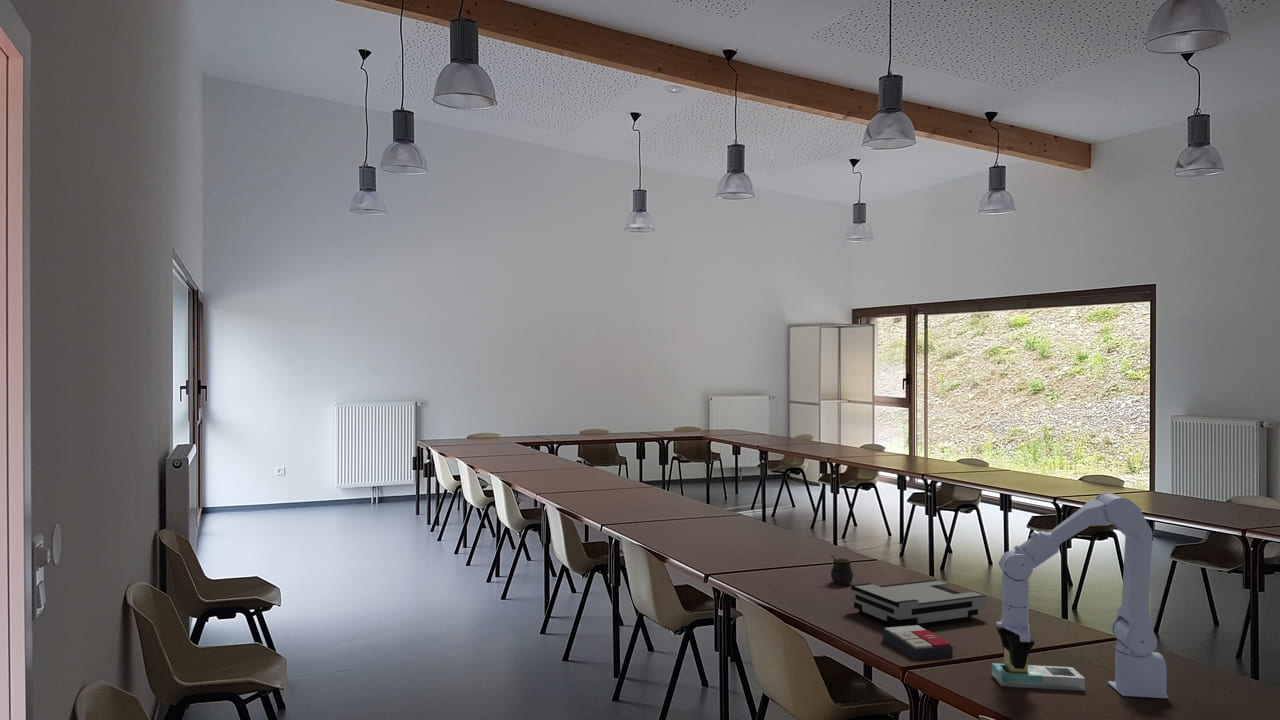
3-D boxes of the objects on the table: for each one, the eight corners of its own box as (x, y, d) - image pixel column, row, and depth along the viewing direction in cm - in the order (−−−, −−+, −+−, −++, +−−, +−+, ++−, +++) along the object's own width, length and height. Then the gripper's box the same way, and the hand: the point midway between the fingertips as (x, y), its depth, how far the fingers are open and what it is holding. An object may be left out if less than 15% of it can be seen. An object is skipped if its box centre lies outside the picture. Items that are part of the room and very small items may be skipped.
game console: (986, 620, 242) (986, 592, 242) (898, 633, 229) (899, 603, 229) (934, 602, 261) (934, 575, 261) (850, 612, 248) (851, 585, 248)
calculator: (915, 646, 207) (882, 625, 221) (914, 663, 207) (881, 641, 221) (953, 643, 210) (918, 622, 224) (953, 660, 210) (918, 638, 224)
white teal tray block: (1072, 679, 195) (1072, 667, 195) (1084, 690, 188) (1084, 678, 188) (991, 675, 197) (992, 663, 197) (1001, 686, 190) (1001, 673, 190)
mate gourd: (855, 586, 277) (855, 556, 277) (832, 586, 277) (832, 556, 277) (850, 581, 284) (850, 551, 285) (828, 580, 285) (828, 551, 285)
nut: (1021, 673, 195) (1022, 647, 195) (1027, 680, 191) (1027, 653, 191) (1003, 672, 195) (1004, 646, 195) (1009, 679, 191) (1009, 652, 191)
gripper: (987, 595, 201) (987, 652, 201) (1007, 612, 187) (1006, 673, 186) (1018, 596, 200) (1018, 653, 200) (1040, 614, 186) (1039, 675, 186)
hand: (1014, 663), depth 193 cm, fingers open, 6 cm apart
